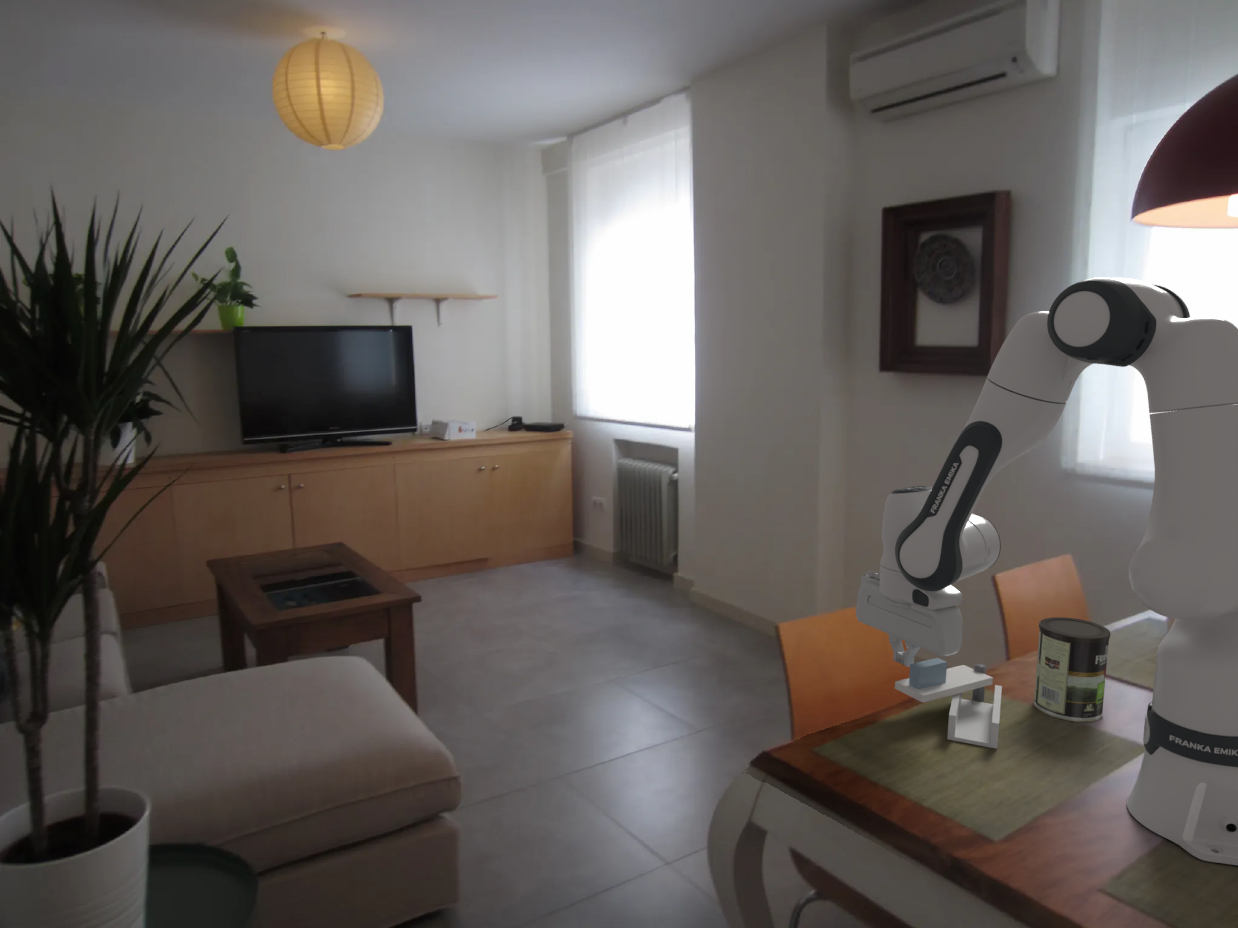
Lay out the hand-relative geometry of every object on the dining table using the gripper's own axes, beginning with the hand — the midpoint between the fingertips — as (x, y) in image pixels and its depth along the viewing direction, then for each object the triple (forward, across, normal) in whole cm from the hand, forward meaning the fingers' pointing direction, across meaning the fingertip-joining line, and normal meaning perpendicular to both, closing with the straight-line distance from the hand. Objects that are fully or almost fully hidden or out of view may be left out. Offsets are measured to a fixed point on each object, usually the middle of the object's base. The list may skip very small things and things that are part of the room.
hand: (903, 663), depth 142 cm
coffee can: (+7, +14, +23) cm, 28 cm away
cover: (+7, +5, +4) cm, 10 cm away
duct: (+7, +11, +5) cm, 14 cm away
